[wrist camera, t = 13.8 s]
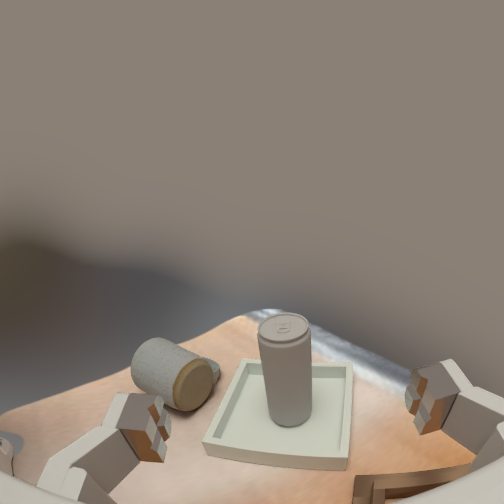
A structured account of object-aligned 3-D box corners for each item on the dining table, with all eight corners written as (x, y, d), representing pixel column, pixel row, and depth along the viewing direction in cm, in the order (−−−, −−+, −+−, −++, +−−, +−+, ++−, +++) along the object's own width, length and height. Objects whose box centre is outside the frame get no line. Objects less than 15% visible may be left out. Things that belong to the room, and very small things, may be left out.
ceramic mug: (185, 426, 31) (167, 378, 29) (140, 400, 36) (121, 355, 33) (236, 376, 40) (227, 329, 37) (191, 359, 44) (180, 315, 42)
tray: (207, 454, 27) (201, 441, 26) (245, 373, 40) (242, 358, 39) (345, 470, 23) (347, 457, 22) (351, 377, 36) (353, 362, 35)
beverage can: (310, 396, 33) (307, 309, 29) (313, 427, 29) (312, 338, 25) (269, 399, 34) (257, 313, 30) (268, 430, 29) (254, 343, 25)
